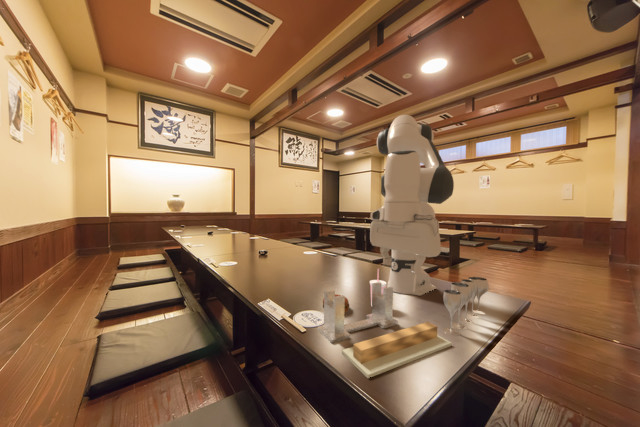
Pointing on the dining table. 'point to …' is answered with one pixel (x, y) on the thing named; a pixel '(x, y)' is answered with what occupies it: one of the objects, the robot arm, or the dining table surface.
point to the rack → (339, 331)
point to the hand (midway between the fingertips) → (400, 268)
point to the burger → (346, 306)
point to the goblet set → (463, 298)
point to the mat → (397, 356)
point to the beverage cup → (383, 283)
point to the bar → (393, 342)
